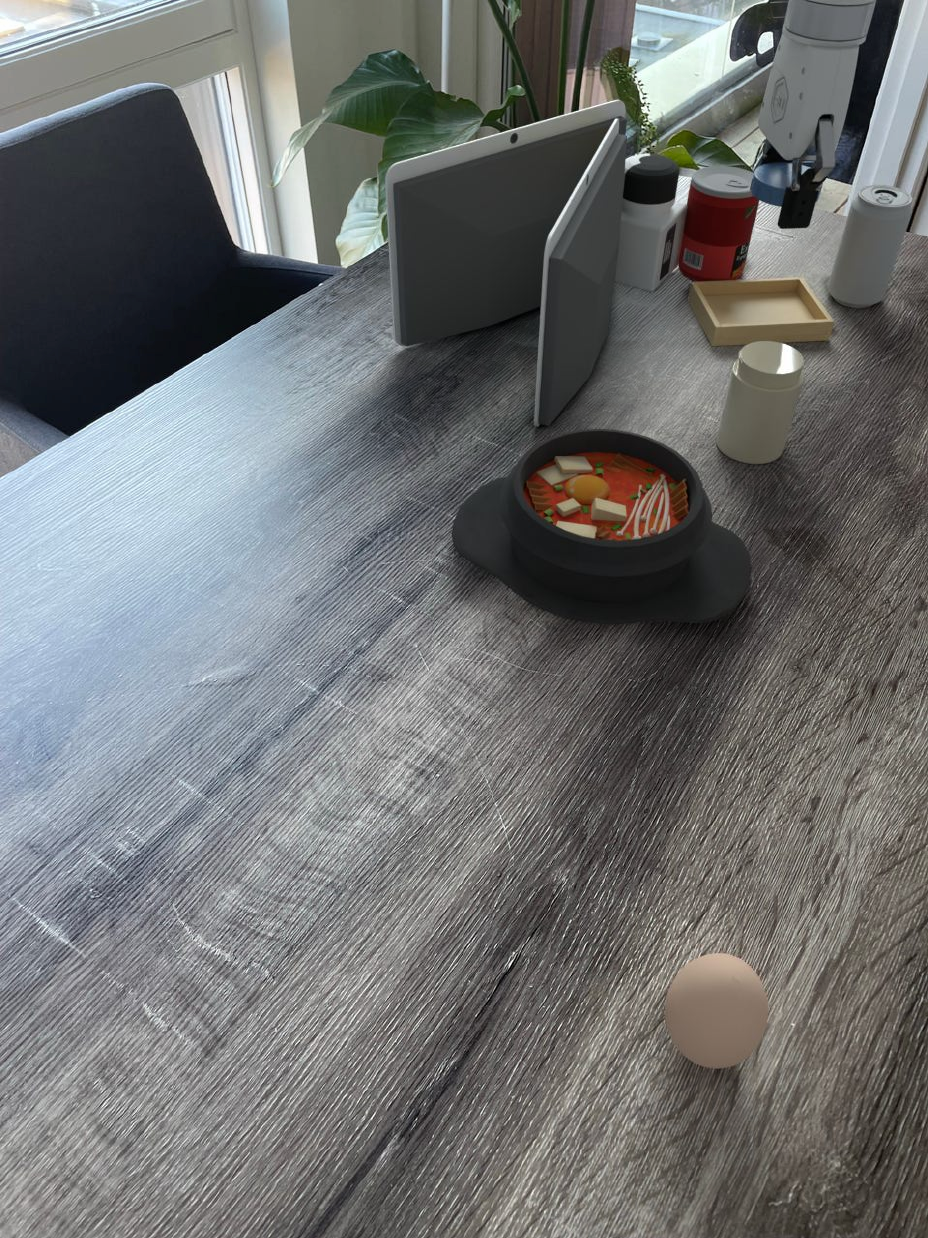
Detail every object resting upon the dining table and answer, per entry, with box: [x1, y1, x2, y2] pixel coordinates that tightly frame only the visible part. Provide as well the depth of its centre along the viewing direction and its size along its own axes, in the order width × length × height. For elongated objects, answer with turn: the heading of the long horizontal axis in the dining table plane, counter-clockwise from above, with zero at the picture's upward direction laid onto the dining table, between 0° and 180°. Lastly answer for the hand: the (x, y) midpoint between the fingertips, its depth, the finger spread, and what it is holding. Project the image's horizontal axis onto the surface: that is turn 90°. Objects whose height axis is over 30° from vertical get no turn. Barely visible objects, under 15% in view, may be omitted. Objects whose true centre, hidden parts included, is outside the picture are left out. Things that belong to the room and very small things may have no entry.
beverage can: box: [827, 184, 913, 309], centre depth 112 cm, size 6×6×12 cm
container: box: [615, 153, 687, 293], centre depth 115 cm, size 8×8×13 cm
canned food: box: [677, 165, 760, 282], centre depth 117 cm, size 8×8×11 cm
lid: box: [750, 162, 823, 208], centre depth 102 cm, size 7×7×2 cm
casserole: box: [451, 428, 753, 626], centre depth 81 cm, size 25×19×8 cm
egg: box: [664, 952, 769, 1070], centre depth 53 cm, size 5×5×8 cm
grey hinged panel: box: [384, 99, 628, 428], centre depth 103 cm, size 35×22×20 cm, turn 164°
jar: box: [715, 341, 805, 465], centre depth 93 cm, size 6×6×10 cm
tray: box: [687, 276, 835, 347], centre depth 112 cm, size 13×10×2 cm
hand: (780, 209), depth 104 cm, fingers closed on lid, 6 cm apart
